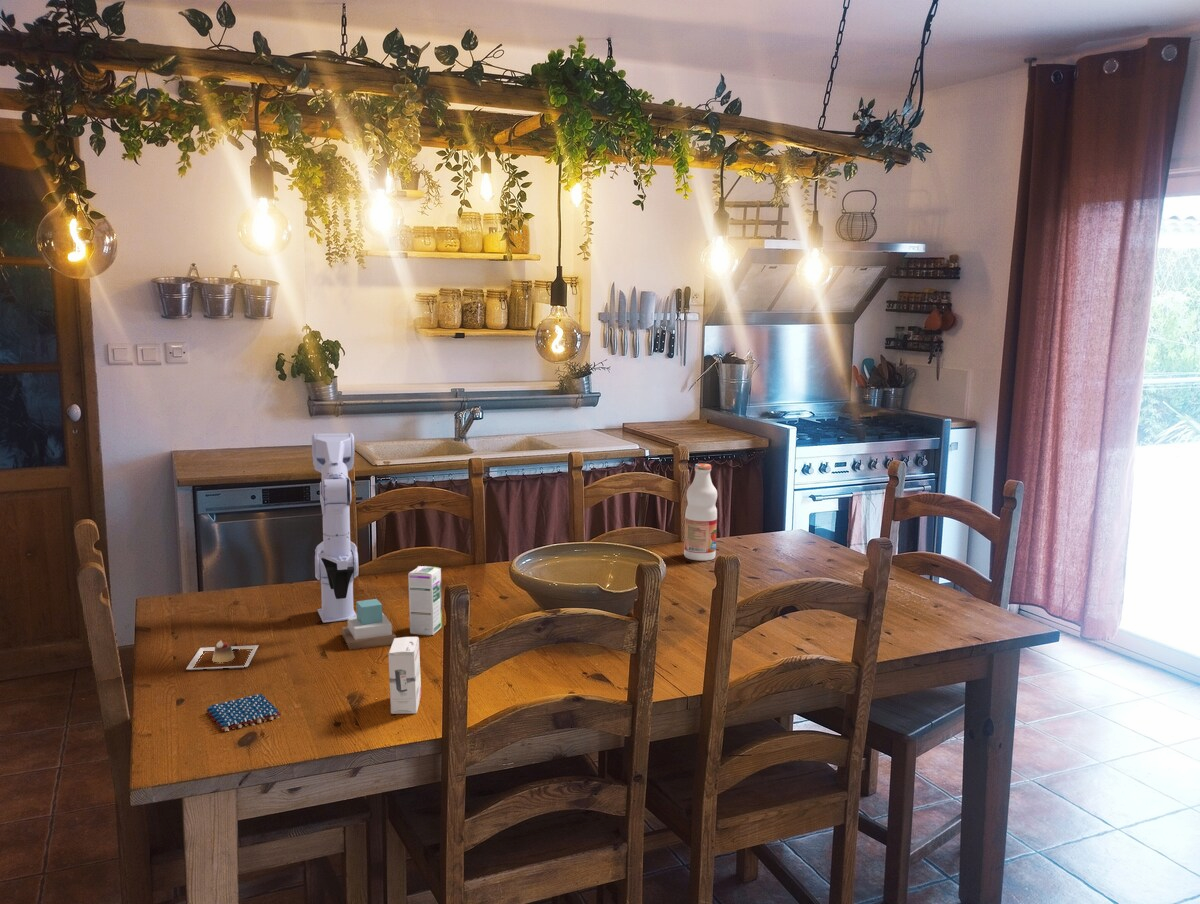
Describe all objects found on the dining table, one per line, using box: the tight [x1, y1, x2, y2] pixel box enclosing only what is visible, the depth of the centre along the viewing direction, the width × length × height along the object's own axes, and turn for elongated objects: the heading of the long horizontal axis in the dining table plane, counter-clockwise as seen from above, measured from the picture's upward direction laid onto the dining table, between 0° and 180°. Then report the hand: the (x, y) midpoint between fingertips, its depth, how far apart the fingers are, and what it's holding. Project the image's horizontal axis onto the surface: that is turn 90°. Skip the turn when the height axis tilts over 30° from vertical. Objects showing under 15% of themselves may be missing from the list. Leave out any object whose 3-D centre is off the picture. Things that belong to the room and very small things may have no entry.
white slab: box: [347, 612, 393, 640], centre depth 212 cm, size 8×8×2 cm
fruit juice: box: [683, 463, 718, 562], centre depth 283 cm, size 9×9×28 cm
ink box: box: [387, 636, 422, 715], centre depth 178 cm, size 9×5×12 cm, turn 5°
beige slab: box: [341, 625, 397, 651], centre depth 212 cm, size 10×10×2 cm
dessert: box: [185, 639, 259, 671], centre depth 199 cm, size 12×12×5 cm
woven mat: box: [206, 693, 282, 733], centre depth 173 cm, size 10×11×2 cm
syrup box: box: [407, 565, 443, 636], centre depth 217 cm, size 6×6×14 cm
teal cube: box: [355, 598, 383, 625], centre depth 211 cm, size 4×4×4 cm
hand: (338, 593), depth 211 cm, fingers open, 7 cm apart
